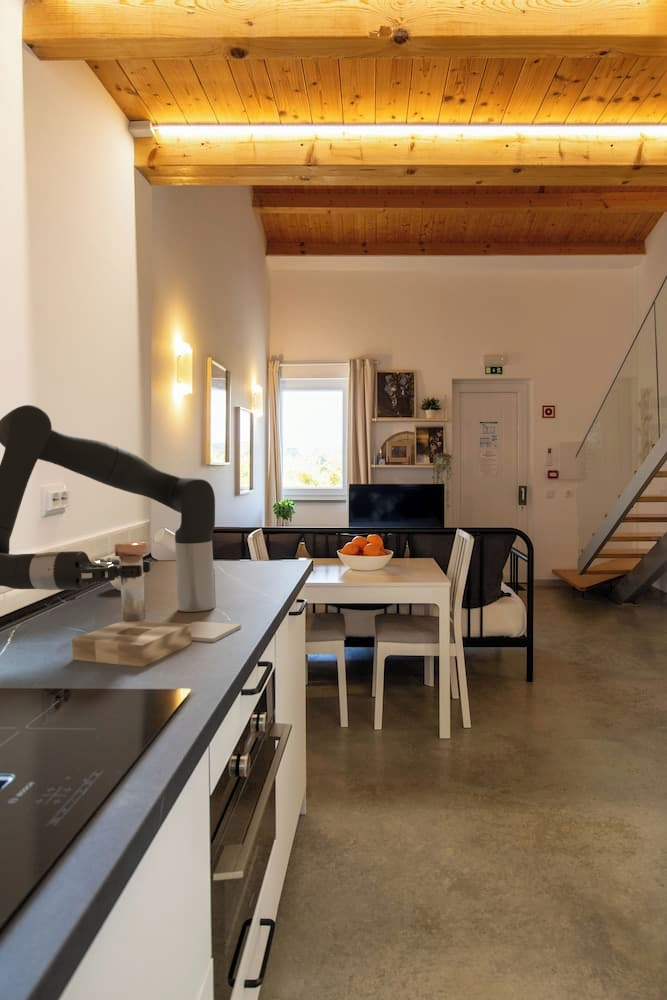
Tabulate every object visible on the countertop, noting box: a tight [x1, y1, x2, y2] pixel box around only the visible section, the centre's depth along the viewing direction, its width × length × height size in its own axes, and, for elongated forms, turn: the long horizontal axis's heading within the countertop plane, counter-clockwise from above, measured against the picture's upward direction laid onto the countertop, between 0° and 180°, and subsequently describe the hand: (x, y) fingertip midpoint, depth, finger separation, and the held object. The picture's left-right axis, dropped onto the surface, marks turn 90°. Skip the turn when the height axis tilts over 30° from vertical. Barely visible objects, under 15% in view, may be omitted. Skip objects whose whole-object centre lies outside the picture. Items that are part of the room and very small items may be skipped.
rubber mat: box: [189, 620, 242, 643], centre depth 143 cm, size 12×12×1 cm
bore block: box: [71, 620, 192, 668], centre depth 130 cm, size 16×16×4 cm
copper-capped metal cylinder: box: [113, 541, 148, 622], centre depth 130 cm, size 6×6×15 cm
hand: (145, 568), depth 130 cm, fingers closed on copper-capped metal cylinder, 4 cm apart
